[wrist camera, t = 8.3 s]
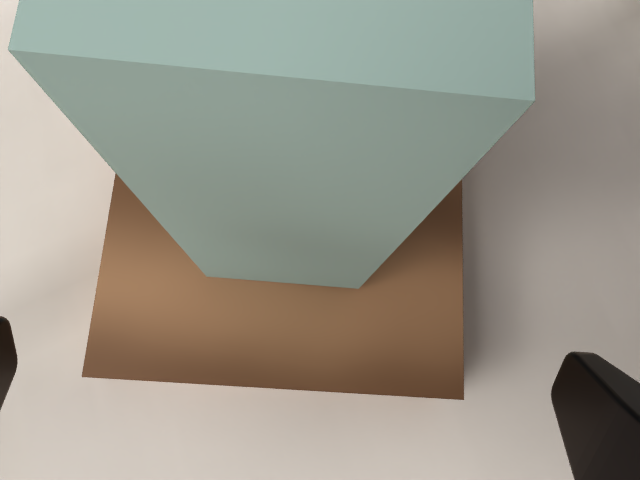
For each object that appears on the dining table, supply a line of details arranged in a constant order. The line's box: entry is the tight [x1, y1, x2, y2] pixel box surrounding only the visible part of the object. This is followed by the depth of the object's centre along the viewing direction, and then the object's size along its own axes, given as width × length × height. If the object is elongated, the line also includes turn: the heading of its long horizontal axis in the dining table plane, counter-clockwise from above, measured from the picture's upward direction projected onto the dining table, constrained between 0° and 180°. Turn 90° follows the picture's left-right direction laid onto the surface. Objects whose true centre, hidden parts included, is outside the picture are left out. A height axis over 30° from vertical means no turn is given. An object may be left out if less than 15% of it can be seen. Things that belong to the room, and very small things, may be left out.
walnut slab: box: [82, 174, 464, 400], centre depth 20 cm, size 12×12×3 cm
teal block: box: [8, 0, 535, 289], centre depth 12 cm, size 5×5×13 cm
